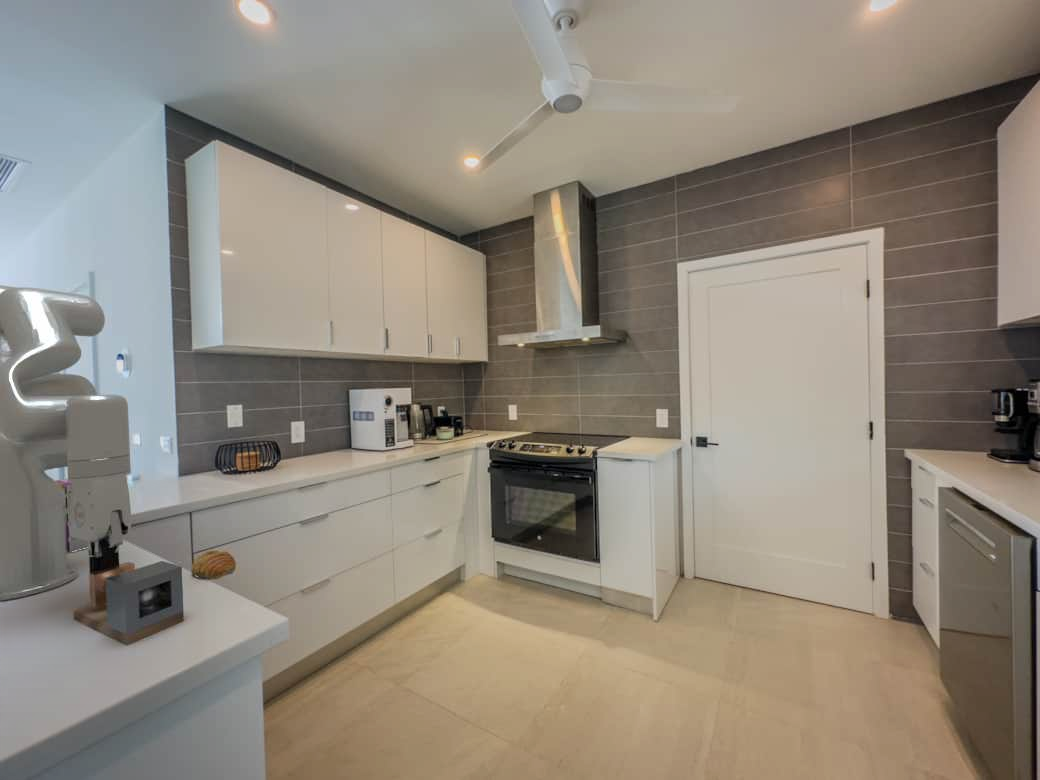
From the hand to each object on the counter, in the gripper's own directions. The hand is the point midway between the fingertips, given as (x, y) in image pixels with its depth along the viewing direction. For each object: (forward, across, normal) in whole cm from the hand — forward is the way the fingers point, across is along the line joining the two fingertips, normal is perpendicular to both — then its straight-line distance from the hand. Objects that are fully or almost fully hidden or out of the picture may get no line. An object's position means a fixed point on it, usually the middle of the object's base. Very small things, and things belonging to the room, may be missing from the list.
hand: (105, 578), depth 71 cm
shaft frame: (+6, +9, 0) cm, 10 cm away
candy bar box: (+5, -51, +12) cm, 53 cm away
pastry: (+6, 0, +17) cm, 18 cm away
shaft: (+3, +8, 0) cm, 9 cm away
